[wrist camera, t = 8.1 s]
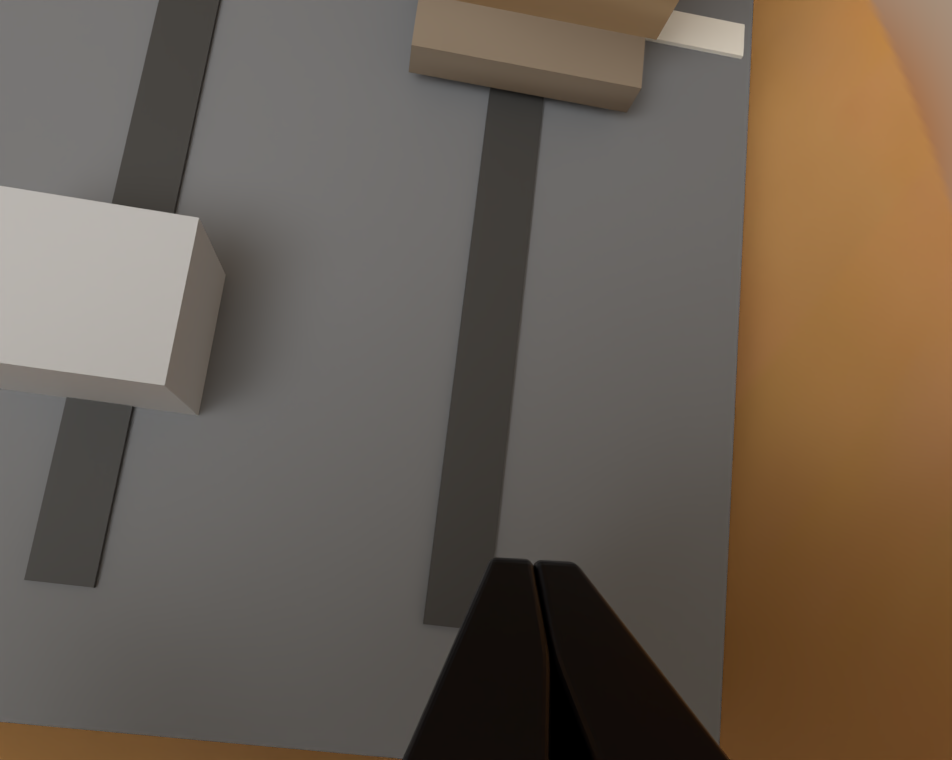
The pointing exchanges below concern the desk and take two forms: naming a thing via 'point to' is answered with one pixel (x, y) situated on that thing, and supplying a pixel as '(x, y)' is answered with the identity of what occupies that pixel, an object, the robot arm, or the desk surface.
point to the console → (348, 360)
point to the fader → (540, 46)
